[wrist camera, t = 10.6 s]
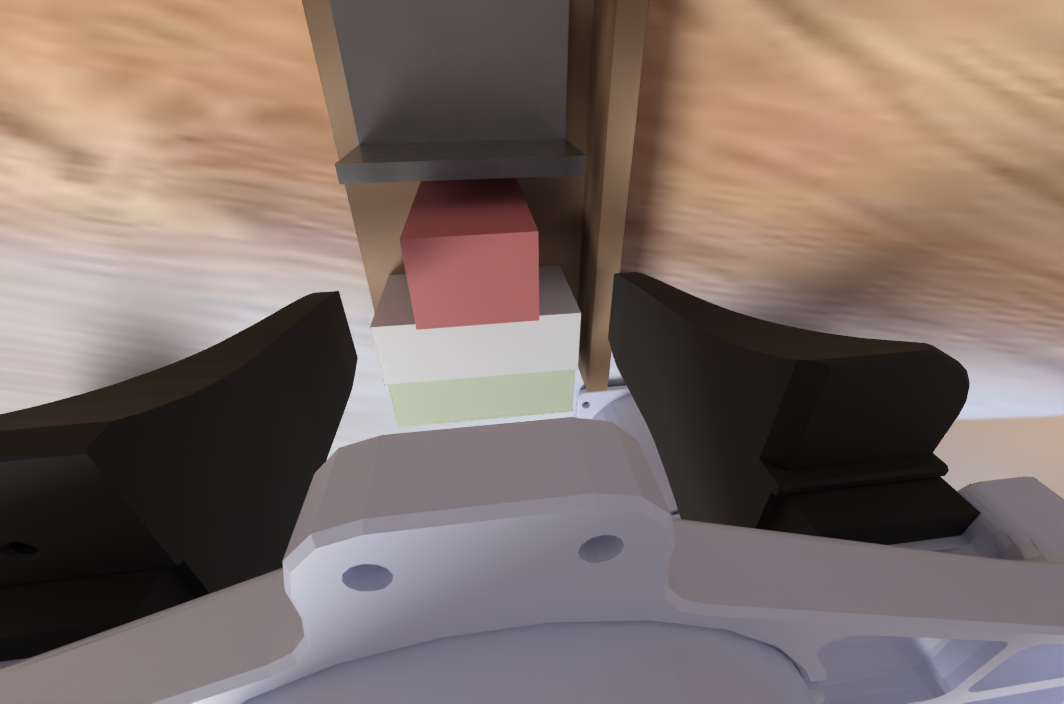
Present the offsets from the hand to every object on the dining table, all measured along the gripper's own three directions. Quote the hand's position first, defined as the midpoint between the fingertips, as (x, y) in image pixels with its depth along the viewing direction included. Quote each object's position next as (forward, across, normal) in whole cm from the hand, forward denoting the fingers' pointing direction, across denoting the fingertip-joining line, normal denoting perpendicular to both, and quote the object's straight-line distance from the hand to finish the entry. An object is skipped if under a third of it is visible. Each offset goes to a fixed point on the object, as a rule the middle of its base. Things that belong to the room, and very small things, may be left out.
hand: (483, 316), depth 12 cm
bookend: (+9, 0, -5) cm, 11 cm away
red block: (+9, 0, 0) cm, 9 cm away
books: (+9, 0, +5) cm, 11 cm away
